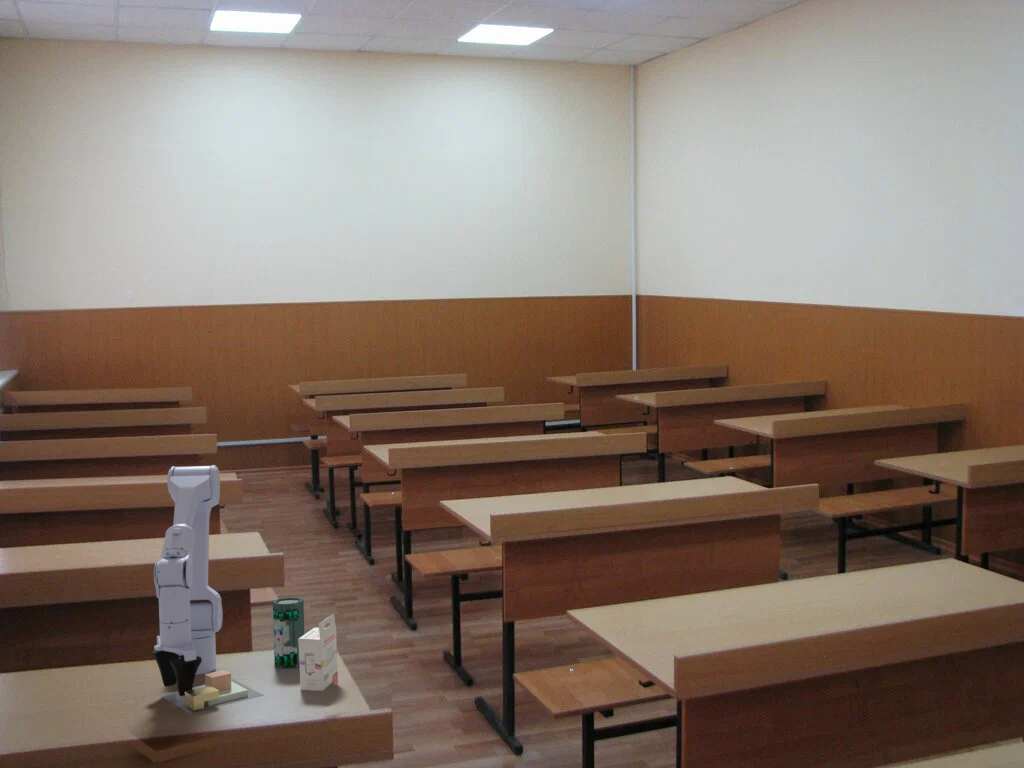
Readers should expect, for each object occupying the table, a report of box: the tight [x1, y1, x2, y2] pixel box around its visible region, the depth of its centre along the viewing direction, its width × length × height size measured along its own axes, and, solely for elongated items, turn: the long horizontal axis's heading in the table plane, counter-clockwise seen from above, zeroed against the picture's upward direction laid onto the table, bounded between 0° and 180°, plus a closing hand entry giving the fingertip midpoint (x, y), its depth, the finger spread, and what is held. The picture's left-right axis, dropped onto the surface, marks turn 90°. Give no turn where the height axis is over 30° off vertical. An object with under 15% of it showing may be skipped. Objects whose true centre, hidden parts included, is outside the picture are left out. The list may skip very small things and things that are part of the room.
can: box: [272, 596, 306, 670], centre depth 227 cm, size 6×6×15 cm
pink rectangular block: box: [192, 669, 248, 706], centre depth 208 cm, size 9×8×4 cm
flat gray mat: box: [159, 678, 264, 714], centre depth 208 cm, size 14×15×2 cm
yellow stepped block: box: [185, 686, 219, 710], centre depth 202 cm, size 4×5×3 cm
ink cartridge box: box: [298, 613, 339, 692], centre depth 214 cm, size 9×5×15 cm, turn 168°
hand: (177, 690), depth 207 cm, fingers open, 7 cm apart
